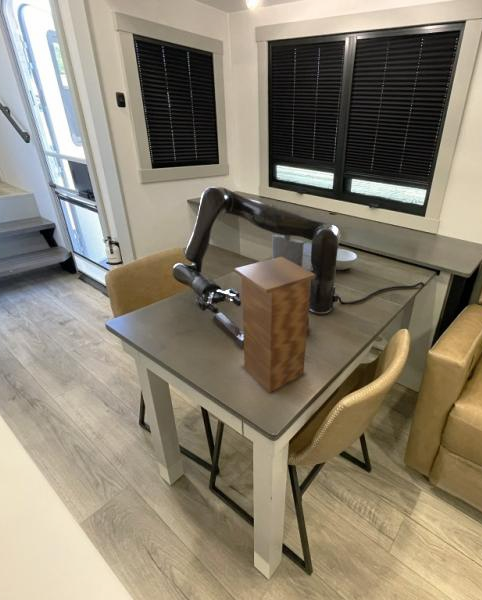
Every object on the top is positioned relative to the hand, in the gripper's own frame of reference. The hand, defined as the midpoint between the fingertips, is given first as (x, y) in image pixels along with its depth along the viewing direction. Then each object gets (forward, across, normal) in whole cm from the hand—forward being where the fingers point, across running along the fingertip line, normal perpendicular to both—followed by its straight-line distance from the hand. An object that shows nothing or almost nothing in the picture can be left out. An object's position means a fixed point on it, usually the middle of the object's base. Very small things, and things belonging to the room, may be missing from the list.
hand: (228, 307), depth 109 cm
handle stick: (+1, 0, +9) cm, 9 cm away
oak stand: (+25, 0, +9) cm, 27 cm away
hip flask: (-26, +45, +10) cm, 53 cm away
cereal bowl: (-18, +73, +10) cm, 76 cm away
